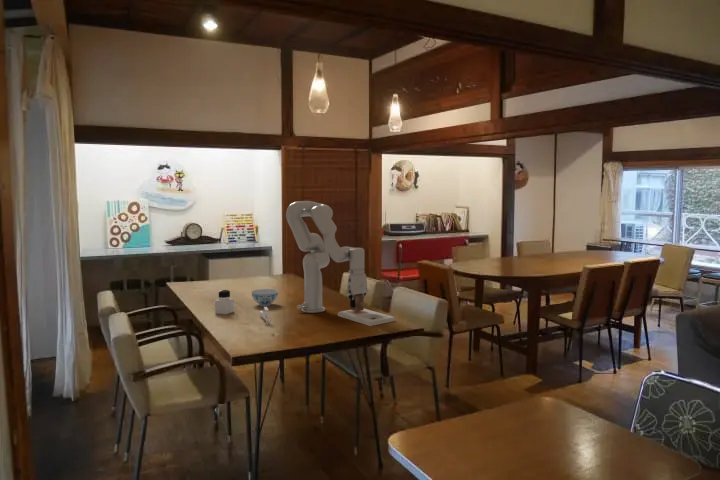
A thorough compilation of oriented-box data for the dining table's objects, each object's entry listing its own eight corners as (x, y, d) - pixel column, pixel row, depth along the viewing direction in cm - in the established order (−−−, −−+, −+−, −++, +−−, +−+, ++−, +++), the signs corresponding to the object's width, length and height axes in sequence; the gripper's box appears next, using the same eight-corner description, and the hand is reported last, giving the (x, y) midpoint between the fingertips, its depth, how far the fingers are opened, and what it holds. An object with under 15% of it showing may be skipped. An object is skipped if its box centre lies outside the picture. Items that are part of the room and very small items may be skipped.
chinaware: (272, 308, 294) (272, 294, 293) (247, 307, 297) (247, 293, 296) (282, 302, 308) (282, 289, 308) (257, 301, 311) (257, 288, 311)
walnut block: (356, 311, 274) (356, 296, 274) (350, 309, 278) (350, 294, 277) (363, 309, 278) (363, 294, 277) (357, 308, 281) (357, 293, 281)
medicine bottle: (234, 311, 286) (233, 289, 285) (226, 314, 279) (226, 292, 278) (222, 310, 289) (222, 288, 287) (214, 313, 282) (214, 291, 281)
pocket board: (370, 326, 258) (370, 321, 257) (337, 315, 278) (337, 311, 278) (394, 320, 268) (394, 316, 268) (361, 311, 288) (361, 307, 288)
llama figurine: (270, 336, 262) (262, 315, 276) (271, 317, 257) (263, 296, 271) (266, 336, 261) (258, 315, 276) (268, 317, 256) (260, 297, 271)
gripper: (348, 274, 268) (348, 310, 269) (374, 271, 278) (374, 305, 280) (339, 272, 273) (339, 307, 275) (365, 269, 284) (364, 303, 286)
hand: (356, 306), depth 278 cm, fingers closed on walnut block, 4 cm apart
